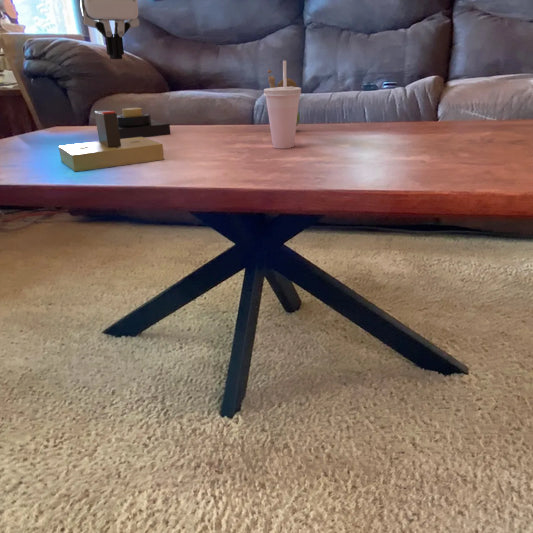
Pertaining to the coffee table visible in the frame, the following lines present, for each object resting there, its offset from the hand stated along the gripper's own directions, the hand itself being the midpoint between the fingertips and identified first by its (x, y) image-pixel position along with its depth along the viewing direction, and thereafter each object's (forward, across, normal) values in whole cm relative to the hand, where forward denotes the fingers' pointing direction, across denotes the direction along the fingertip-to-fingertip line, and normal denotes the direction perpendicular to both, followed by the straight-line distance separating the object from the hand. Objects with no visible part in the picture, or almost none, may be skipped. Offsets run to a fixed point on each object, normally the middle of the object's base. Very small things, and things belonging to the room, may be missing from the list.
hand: (116, 58), depth 102 cm
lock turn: (+13, +10, +26) cm, 31 cm away
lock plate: (+15, +10, +26) cm, 32 cm away
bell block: (+15, -2, +1) cm, 15 cm away
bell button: (+11, -2, +1) cm, 12 cm away
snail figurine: (+14, -28, +19) cm, 37 cm away
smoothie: (+15, -18, +34) cm, 41 cm away
